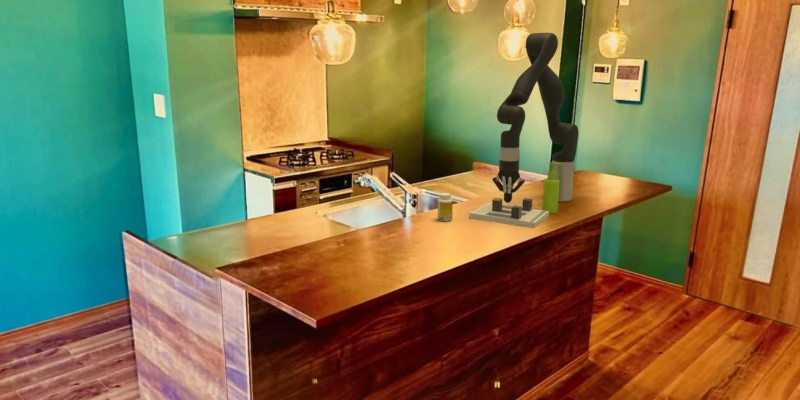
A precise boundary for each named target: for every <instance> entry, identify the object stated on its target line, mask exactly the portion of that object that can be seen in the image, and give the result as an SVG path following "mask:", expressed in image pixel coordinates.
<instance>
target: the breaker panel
mask: <svg viewBox="0 0 800 400" xmlns="http://www.w3.org/2000/svg"><path fill="white" fill-rule="evenodd" d="M513 206H514V205H513ZM513 206H512V205H505V204H502V210H500V211H495V210H492V203H490V202H486V203H484V204H482V205H481V206H479V207H476V209H474V210H472V211H470V212H469V213H468V215H469V217H468V218H469V219H472V220H473V219H474V220H481V221H486V222H492V223H500V224H506V225H514V226H520V227H527V228H533V229H536V227H537V226H539V225H540V224H541V223H542V222H544V221H545V220H546V219H547V218H548V217H549V214H550V213H549V211H544V210H542V209H536V208H532V209H531V210H530V211H529V210H522V214H521V217H520V218H519V219H517V218H511V207H513Z"/></svg>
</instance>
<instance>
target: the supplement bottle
mask: <svg viewBox="0 0 800 400" xmlns="http://www.w3.org/2000/svg"><path fill="white" fill-rule="evenodd" d="M451 197H452V195H451V193H448V192H441V193H440V194H439V198H438V199H437V220H438V221H440V222H445V223H446V222H451V221H452V220H453V206H454V205H453V199H452V198H451Z"/></svg>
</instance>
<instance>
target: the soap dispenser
mask: <svg viewBox="0 0 800 400" xmlns="http://www.w3.org/2000/svg"><path fill="white" fill-rule="evenodd" d="M548 165H549V166H550V169H549V170H548V171H547V178H545V179H544V180H543V193H542V195H543V196H542V207H541V208H542V209H541V210H544V211H549V214H556V213H558V209H559V208H558V205H559V201H558V194H559V180H558V179H556V176H557V171H555V165H561V166H563V164H561V163H552V162H548Z"/></svg>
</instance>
